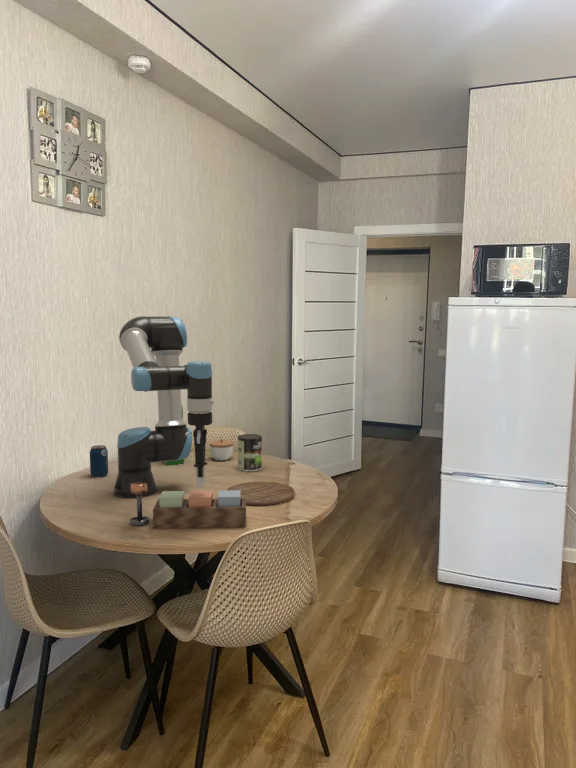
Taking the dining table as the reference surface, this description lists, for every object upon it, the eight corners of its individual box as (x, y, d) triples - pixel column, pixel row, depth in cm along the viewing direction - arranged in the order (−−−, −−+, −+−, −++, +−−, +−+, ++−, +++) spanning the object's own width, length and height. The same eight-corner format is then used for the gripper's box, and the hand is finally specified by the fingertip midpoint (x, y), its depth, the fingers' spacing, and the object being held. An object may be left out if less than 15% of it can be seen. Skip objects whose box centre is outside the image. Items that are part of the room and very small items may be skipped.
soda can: (111, 475, 233) (110, 446, 232) (95, 479, 228) (94, 449, 227) (103, 472, 238) (102, 444, 237) (87, 475, 233) (86, 446, 232)
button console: (153, 528, 174) (152, 509, 174) (158, 517, 184) (158, 499, 184) (245, 526, 176) (245, 507, 175) (246, 515, 186) (245, 497, 185)
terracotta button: (188, 510, 176) (188, 497, 176) (191, 503, 183) (191, 490, 182) (211, 509, 177) (211, 497, 176) (212, 502, 183) (212, 490, 183)
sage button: (159, 510, 176) (159, 497, 175) (163, 503, 182) (162, 491, 182) (181, 510, 176) (181, 497, 176) (184, 503, 183) (184, 491, 182)
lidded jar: (232, 462, 256) (232, 441, 255) (208, 462, 256) (208, 441, 255) (234, 456, 267) (234, 436, 266) (211, 456, 267) (211, 436, 266)
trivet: (309, 496, 208) (309, 491, 207) (256, 512, 191) (256, 506, 191) (264, 482, 226) (264, 477, 226) (212, 495, 209) (211, 490, 209)
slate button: (218, 509, 177) (217, 497, 176) (219, 502, 183) (219, 490, 183) (240, 509, 177) (240, 496, 177) (240, 502, 184) (240, 490, 183)
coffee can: (266, 467, 248) (266, 435, 246) (253, 472, 239) (253, 439, 237) (246, 464, 253) (246, 433, 251) (233, 469, 244) (233, 437, 242)
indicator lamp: (128, 526, 176) (127, 487, 175) (132, 519, 182) (131, 481, 181) (147, 526, 176) (147, 486, 175) (151, 519, 182) (150, 481, 181)
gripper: (210, 414, 170) (211, 492, 173) (213, 408, 183) (214, 480, 186) (185, 415, 170) (186, 492, 172) (189, 408, 183) (190, 480, 185)
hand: (200, 486), depth 179 cm, fingers closed
